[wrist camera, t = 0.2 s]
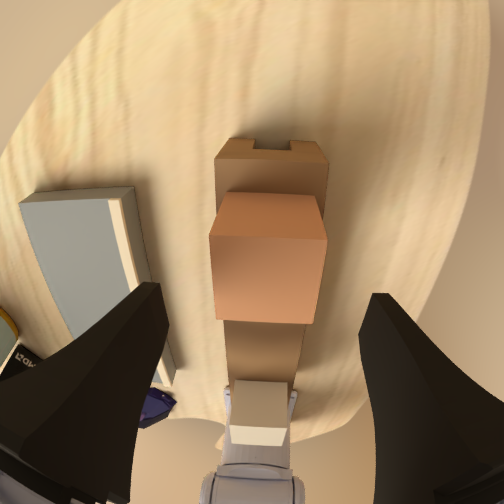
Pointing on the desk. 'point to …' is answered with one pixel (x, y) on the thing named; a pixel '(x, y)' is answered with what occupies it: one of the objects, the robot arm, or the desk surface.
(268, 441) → the beige box
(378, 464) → the robot arm
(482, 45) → the desk surface
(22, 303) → the desk surface
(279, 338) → the brown wooden bar
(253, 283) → the terracotta box
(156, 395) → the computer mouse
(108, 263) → the dock
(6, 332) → the bottle
